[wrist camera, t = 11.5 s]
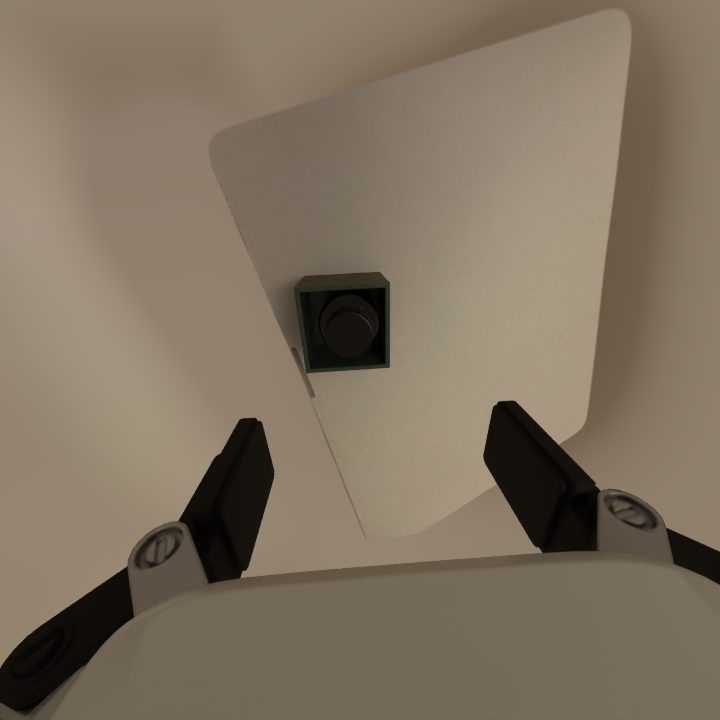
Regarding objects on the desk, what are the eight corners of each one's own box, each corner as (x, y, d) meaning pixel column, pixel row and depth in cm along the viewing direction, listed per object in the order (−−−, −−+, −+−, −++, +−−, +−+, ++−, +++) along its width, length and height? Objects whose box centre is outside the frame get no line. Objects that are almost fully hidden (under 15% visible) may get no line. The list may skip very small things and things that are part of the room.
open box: (304, 276, 36) (293, 287, 28) (379, 271, 36) (389, 282, 29) (313, 346, 40) (306, 373, 33) (380, 342, 41) (389, 367, 33)
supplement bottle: (345, 268, 35) (346, 284, 25) (383, 303, 38) (400, 331, 27) (313, 308, 37) (300, 339, 27) (351, 338, 40) (353, 379, 29)
